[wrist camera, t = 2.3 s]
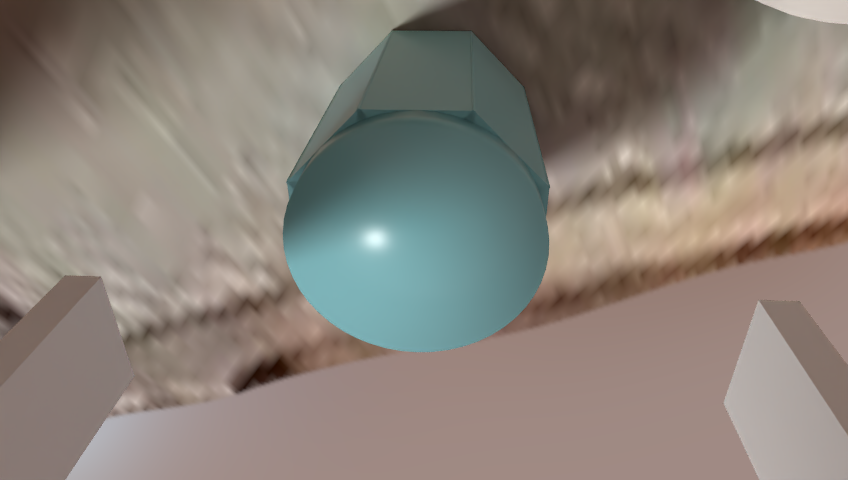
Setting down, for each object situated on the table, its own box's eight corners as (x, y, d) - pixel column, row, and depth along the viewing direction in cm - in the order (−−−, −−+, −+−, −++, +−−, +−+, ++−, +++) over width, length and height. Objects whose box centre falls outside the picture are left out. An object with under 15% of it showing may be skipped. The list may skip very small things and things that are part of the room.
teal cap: (349, 199, 25) (297, 348, 17) (336, 29, 21) (263, 122, 14) (515, 202, 25) (537, 356, 17) (528, 30, 21) (564, 126, 13)
